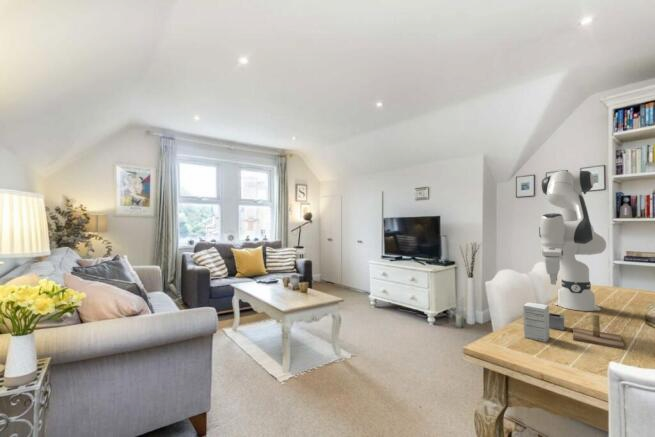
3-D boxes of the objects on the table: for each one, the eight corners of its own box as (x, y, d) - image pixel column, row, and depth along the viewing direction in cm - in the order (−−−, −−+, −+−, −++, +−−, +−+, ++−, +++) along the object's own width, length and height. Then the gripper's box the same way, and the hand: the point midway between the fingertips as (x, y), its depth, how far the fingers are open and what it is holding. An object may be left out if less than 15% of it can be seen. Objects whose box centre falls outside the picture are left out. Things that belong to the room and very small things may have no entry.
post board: (573, 329, 126) (572, 308, 126) (619, 337, 117) (618, 314, 117) (573, 339, 115) (572, 316, 115) (624, 349, 106) (623, 323, 106)
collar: (547, 323, 134) (547, 312, 134) (564, 326, 130) (564, 314, 130) (546, 327, 129) (545, 315, 130) (564, 330, 126) (563, 318, 126)
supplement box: (528, 332, 124) (527, 301, 124) (550, 337, 118) (549, 304, 119) (523, 337, 118) (522, 305, 119) (546, 342, 113) (545, 308, 113)
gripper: (545, 249, 141) (546, 278, 140) (542, 252, 125) (543, 285, 125) (563, 249, 137) (564, 280, 136) (561, 252, 121) (562, 287, 120)
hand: (554, 282), depth 130 cm, fingers open, 8 cm apart
